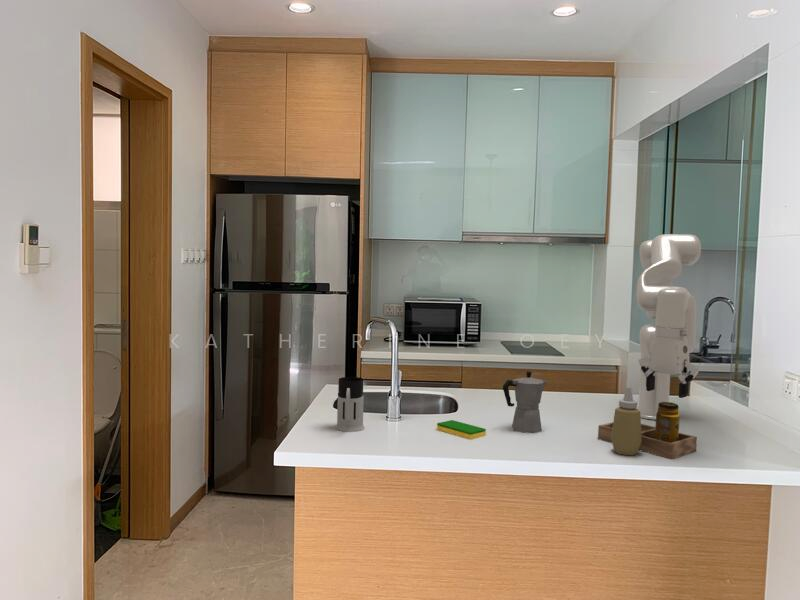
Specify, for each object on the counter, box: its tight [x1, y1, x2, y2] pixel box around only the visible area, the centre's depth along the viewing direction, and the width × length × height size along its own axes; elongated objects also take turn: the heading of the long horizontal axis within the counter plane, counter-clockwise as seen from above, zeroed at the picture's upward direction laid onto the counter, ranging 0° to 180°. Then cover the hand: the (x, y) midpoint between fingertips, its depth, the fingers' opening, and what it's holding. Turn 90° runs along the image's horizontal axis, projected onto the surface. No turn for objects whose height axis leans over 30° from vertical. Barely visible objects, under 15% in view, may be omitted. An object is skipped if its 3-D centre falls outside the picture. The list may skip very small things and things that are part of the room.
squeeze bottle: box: [611, 387, 642, 456], centre depth 177 cm, size 8×8×18 cm
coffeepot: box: [502, 371, 548, 434], centre depth 199 cm, size 15×9×18 cm, turn 110°
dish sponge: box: [436, 419, 487, 440], centre depth 195 cm, size 7×14×2 cm, turn 43°
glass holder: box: [335, 376, 365, 433], centre depth 193 cm, size 9×14×15 cm, turn 179°
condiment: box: [655, 401, 680, 443], centre depth 181 cm, size 7×8×12 cm
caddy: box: [597, 421, 698, 460], centre depth 186 cm, size 13×23×4 cm, turn 38°
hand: (666, 393), depth 181 cm, fingers open, 9 cm apart
